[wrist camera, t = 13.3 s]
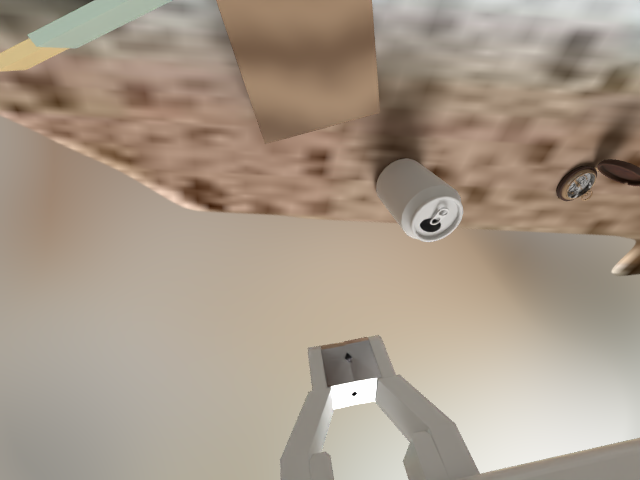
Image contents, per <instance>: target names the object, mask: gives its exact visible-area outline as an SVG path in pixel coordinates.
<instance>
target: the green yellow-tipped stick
mask: <svg viewBox="0 0 640 480" xmlns="http://www.w3.org/2000/svg"><path fill="white" fill-rule="evenodd" d="M170 1H172V0H94V1H92V2H90V3H88V4H86V5H84V6H82V7H80V8H78V9H77V10H75V11H73V12H71V13H69V14H67V15H65V16H63V17H61V18H59V19H57V20H55V21H53V22H51V23H49V24H47V25H45V26H44V27H42V28H40V29H38V30H36V31H34V32H32V33H30V34H28V35H27V36H28V37H29V39H27V40H25V41H23V42H21V43H19V44H17V45H15V46H13V47H11V48H9V49H8V50H6V51H4V52H2V53H0V71H15V70H27V69H29V68H31V67H33V66H35V65H37V64H39V63H41V62H43V61H45V60H47V59H49V58H51V57H53V56H55V55H57V54H59V53H61V52H63V51H65V50H67V49H69V48H78V47H80V46H82V45H84V44H86V43H88V42H90V41H92V40H94V39H96V38H98V37H100V36H102V35H104V34H106V33H108V32H110V31H112V30H114V29H116V28H118V27H120V26H122V25H124V24H126V23H128V22H130V21H132V20H134V19H136V18H138V17H140V16H142V15H144V14H146V13H148V12H150V11H152V10H154V9H156V8H158V7H160V6H162V5H164V4H166V3H168V2H170Z"/></svg>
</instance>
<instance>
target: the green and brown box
mask: <svg viewBox="0 0 640 480" xmlns="http://www.w3.org/2000/svg"><path fill="white" fill-rule="evenodd" d="M216 1H217V4H218V7H219V10H220V13H221V16H222V19H223V22H224V25H225V28H226V31H227V33H228V36H229V39H230V42H231V45H232V48H233V51H234V54H235V57H236V60H237V63H238V66H239V69H240V72H241V75H242V78H243V80H244V83H245V86H246V89H247V92H248V95H249V98H250V101H251V104H252V107H253V110H254V113H255V116H256V119H257V122H258V125H259V128H260V130H261V133H262V136H263V139H264V142H265V144H268V143H271V142H275V141H279V140H282V139H286V138H290V137H293V136H297V135H301V134H304V133H308V132H312V131H315V130H319V129H323V128H326V127H330V126H334V125H337V124H341V123H345V122H349V121H352V120H356V119H360V118H363V117H367V116H371V115H374V114H378V113H380V105H379V92H378V78H377V64H376V51H375V37H374V23H373V10H372V0H216Z"/></svg>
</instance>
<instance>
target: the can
mask: <svg viewBox="0 0 640 480" xmlns="http://www.w3.org/2000/svg"><path fill="white" fill-rule="evenodd" d="M376 191H377V194H378V197H379V198H380V200H381V201H382V202H383V204H384V205H385V206H386V208H387V209H388V210H389V212H390V213H391V214H392V216H393V217H394V218H395V220H396V221H397V222H398V224H399V225H400V226H401V228H402V229H403V230H404V232H405V233H406V234H407V235H408V236H410V237H412V238H414V239H419V240H421V241H425V242H432V241H437V240H440V239H442V238H444V237H446V236H447V235H449V234H450V233H451V232H452V231H453V230H454V229H455V228H456V227H457V226H458V224H459V223H460V221H461V219H462V215H463V206H462V204H461V197H460V196H459V194H458V192H457V191H456V190H455V189H453V188H452V187H451V186H449V185H448V184H447V183H445V182H444V181H443V180H441V179H440V178H439V177H437V176H436V175H434V174H433V173H432V172H430V171H429V170H428V169H426V168H425V167H424V166H422V165H421V164H420V163H418V162H417V161H415V160H412V159H407V158H406V159H399V160H397V161H395V162H392V163H391V164H389V165H388V166H387V167H386V168H385V169H384V170H383V171H382V173H381V174H380V176H379V178H378V181H377V187H376Z"/></svg>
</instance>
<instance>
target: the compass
mask: <svg viewBox="0 0 640 480" xmlns="http://www.w3.org/2000/svg"><path fill="white" fill-rule="evenodd" d="M599 171H600V172H601V173H602V174H603V175H605V176H607V177H608V178H610V179H613V180H615V181H617V182H620V183H623V184H624V183H628V185H632V186H640V168H639V167H637V166H635V165H633V164H630V163H627V162H624V161H620V160H612V159H608V160H603V161H601V162H600V163H599V164H598V166H597V167H595V168H594V167H590V166H582V167H579V168H577V169H575V170H573V171H572V172H570V173H569V174H568V175H566V176H565V177H564V178H563V180H562V181H561V182H560V184H559V186H558V189H557V196H558V198H559V199H562V200H564V201H570V200H574V199H576V198H579V197H581V196H582V198H581V199H582V200H583V196H587V195H588V193H587V192H591V196H592V194H593V192H592V191H589V190H590V189H591V188H592V187H593V185H594V183H595V181H596V178H597V172H599ZM591 196H590V197H591ZM590 197H589V198H590ZM589 198H587V199H589ZM587 199H585V200H587ZM583 201H584V200H583Z"/></svg>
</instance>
